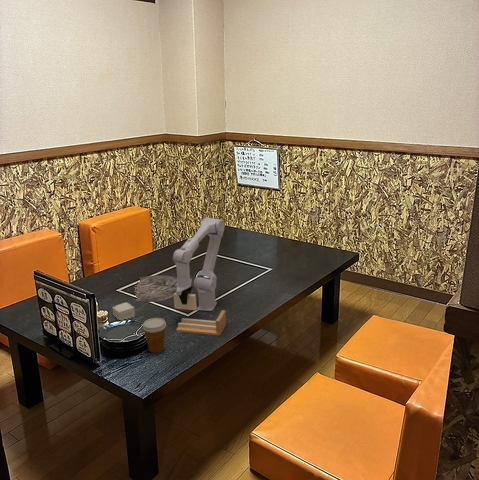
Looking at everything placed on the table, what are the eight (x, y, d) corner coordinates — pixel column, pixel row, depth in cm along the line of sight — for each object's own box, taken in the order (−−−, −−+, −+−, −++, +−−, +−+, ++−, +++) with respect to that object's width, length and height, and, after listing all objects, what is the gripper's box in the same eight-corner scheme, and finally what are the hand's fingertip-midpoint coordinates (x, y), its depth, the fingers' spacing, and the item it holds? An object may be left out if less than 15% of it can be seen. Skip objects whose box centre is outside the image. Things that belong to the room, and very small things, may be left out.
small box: (135, 316, 222) (134, 307, 220) (120, 322, 217) (119, 312, 215) (128, 311, 227) (126, 301, 226) (113, 316, 223) (111, 306, 221)
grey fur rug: (151, 271, 276) (151, 270, 276) (197, 284, 256) (197, 283, 256) (106, 291, 250) (106, 291, 250) (153, 307, 231) (153, 306, 230)
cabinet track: (184, 320, 216) (183, 306, 214) (226, 324, 212) (225, 310, 209) (176, 331, 207) (175, 317, 205) (219, 335, 202) (219, 321, 200)
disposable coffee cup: (151, 341, 200) (148, 316, 196) (171, 344, 197) (169, 318, 193) (140, 353, 191) (137, 326, 187) (162, 356, 188) (159, 329, 185)
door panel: (176, 306, 217) (175, 292, 214) (196, 308, 214) (195, 294, 212) (174, 308, 215) (173, 294, 213) (195, 310, 212) (194, 296, 210)
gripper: (181, 268, 217) (183, 295, 221) (168, 281, 204) (171, 309, 208) (195, 269, 215) (197, 296, 219) (184, 282, 202) (186, 310, 206)
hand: (185, 302), depth 214 cm, fingers closed on door panel, 2 cm apart
